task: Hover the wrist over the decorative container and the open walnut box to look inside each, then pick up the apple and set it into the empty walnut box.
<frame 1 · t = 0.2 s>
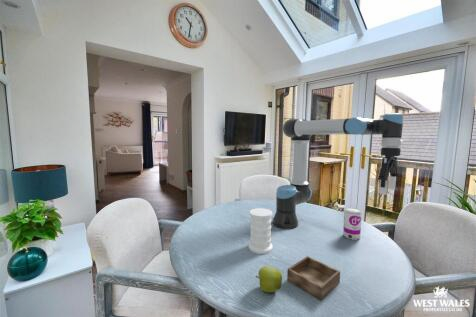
hand: (387, 191, 104), 28 cm above the table, fingers open, 13 cm apart
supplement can: (351, 237, 118), on the table
walnut box: (313, 281, 82), on the table
decorative container: (260, 248, 106), on the table
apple: (268, 290, 77), on the table
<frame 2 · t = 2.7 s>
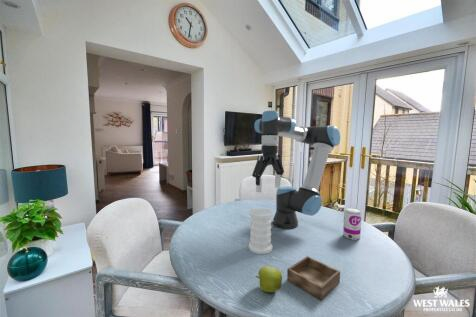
hand: (268, 189, 103), 29 cm above the table, fingers open, 13 cm apart
nothing on the table moved.
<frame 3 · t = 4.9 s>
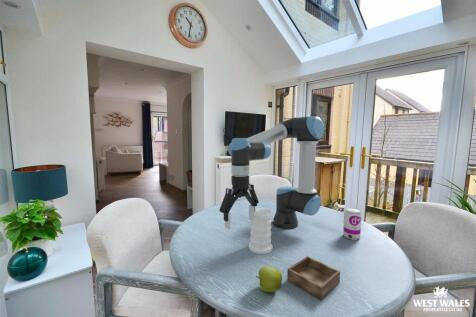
hand: (240, 223, 93), 17 cm above the table, fingers open, 13 cm apart
nothing on the table moved.
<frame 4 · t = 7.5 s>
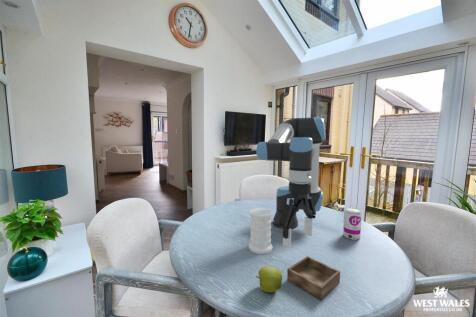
hand: (297, 240, 78), 17 cm above the table, fingers open, 13 cm apart
nothing on the table moved.
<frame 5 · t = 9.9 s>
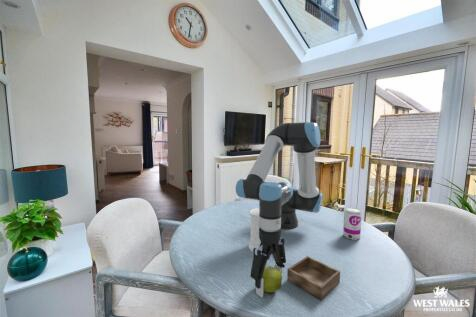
hand: (268, 288, 77), 0 cm above the table, fingers open, 9 cm apart
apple: (268, 290, 77), on the table, touching gripper
everything else where it was.
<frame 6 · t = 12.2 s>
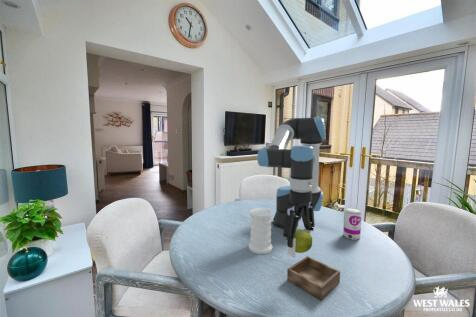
hand: (299, 250, 79), 13 cm above the table, fingers closed on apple, 8 cm apart
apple: (298, 251, 79), point 12 cm above the table, touching gripper
everything else where it was.
when the fingers open (5 cm above the table, at t = 14.3 s): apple drops 4 cm, resting on walnut box.
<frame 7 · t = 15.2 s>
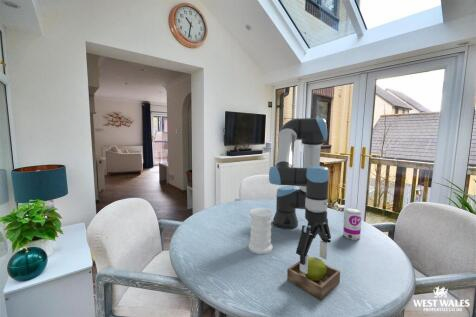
hand: (313, 264, 81), 7 cm above the table, fingers open, 13 cm apart
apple: (313, 279, 82), point 1 cm above the table, touching walnut box
everything else where it was.
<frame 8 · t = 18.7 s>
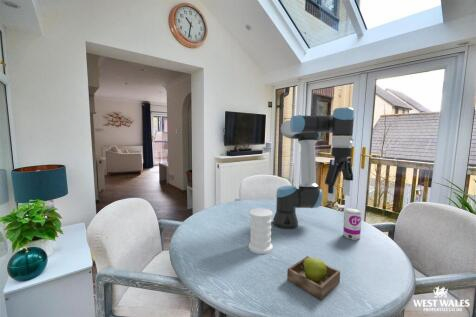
hand: (338, 198, 90), 29 cm above the table, fingers open, 13 cm apart
nothing on the table moved.
at the end: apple inside the target area on the walnut box (0.0 cm from its centre), point 0.6 cm above the walnut box's base; the gripper is holding nothing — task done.
